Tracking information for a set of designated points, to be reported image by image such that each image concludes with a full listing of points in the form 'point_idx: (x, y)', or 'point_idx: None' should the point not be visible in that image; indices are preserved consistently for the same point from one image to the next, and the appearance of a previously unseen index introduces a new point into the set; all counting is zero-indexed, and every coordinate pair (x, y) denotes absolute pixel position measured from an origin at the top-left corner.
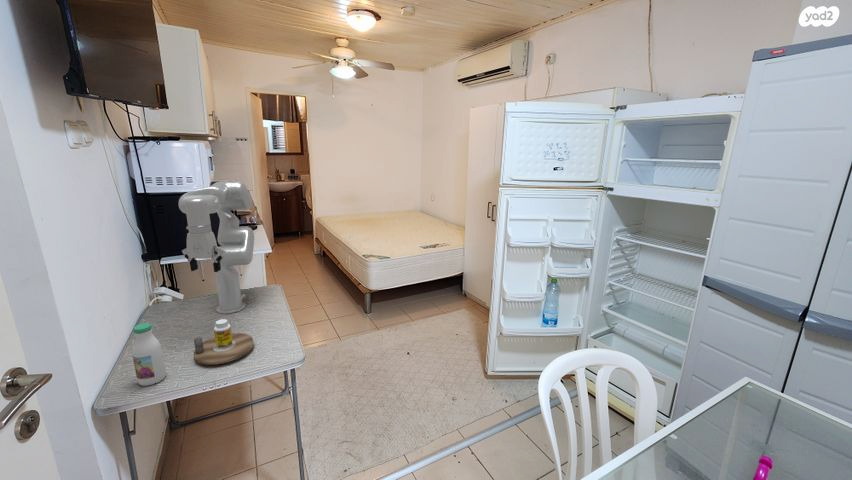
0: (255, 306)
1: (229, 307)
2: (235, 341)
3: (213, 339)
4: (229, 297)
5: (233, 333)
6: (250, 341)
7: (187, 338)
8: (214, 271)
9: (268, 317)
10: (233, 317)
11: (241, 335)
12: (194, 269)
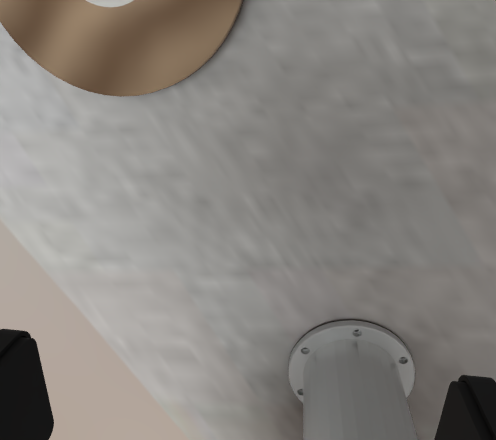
0: (250, 383)
1: (335, 350)
2: (81, 3)
3: (209, 15)
4: (333, 393)
5: (146, 89)
6: (8, 12)
7: (402, 78)
8: (16, 336)
9: (133, 290)
10: (290, 289)
11: (93, 71)
12: (448, 422)
